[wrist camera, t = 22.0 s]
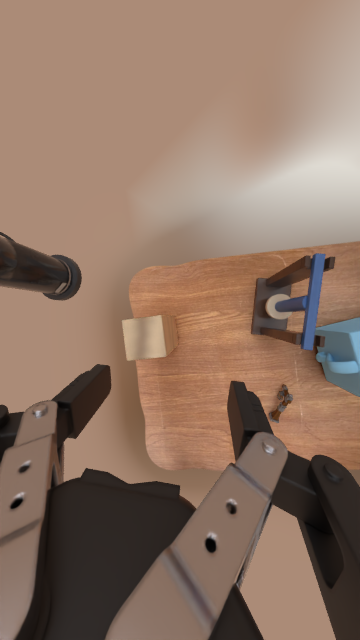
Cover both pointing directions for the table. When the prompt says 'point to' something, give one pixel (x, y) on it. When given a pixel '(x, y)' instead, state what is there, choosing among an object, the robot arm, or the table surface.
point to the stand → (282, 285)
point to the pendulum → (301, 303)
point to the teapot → (341, 354)
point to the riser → (150, 337)
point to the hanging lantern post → (281, 404)
